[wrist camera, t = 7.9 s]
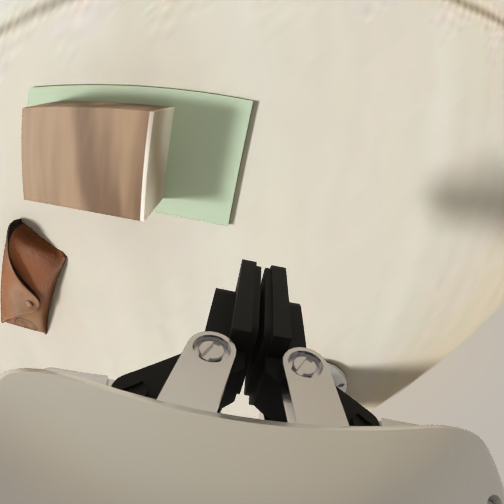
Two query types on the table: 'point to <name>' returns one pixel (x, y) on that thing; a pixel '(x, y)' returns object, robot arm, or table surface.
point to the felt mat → (183, 143)
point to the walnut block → (96, 156)
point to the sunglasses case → (28, 277)
